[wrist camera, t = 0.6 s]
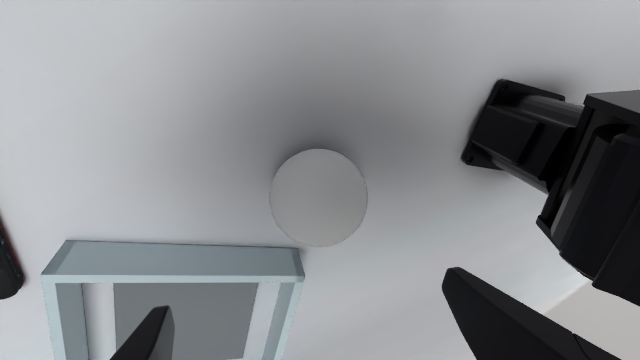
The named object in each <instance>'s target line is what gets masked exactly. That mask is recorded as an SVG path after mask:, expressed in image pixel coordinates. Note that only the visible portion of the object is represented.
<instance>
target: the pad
mask: <svg viewBox="0 0 640 360" xmlns="http://www.w3.org/2000/svg"><path fill="white" fill-rule="evenodd" d="M113 285H114V308H115V330H116V352H117V350H118V349H119V348H120V347H121V346H122V344H123V343H124V342H125V341H126V340H127V338H128V337H129V336H130V335H131V334H132V332H133V331H134V330H135V329H136V328H137V326H138V325H139V324H140V323H141V322H142V320H143V319H144V318H145V317H146V316H147V314H148V313H149V312H150V311H151V310H152V309H153V308H154V307H156V306H164V305H169V306H170V308H171V311H172V315H173V319H174V323H175V334H174V343H173V352H172V360H226V359H239V358H243V353H244V348H245V344H246V339H247V334H248V329H249V325H250V320H251V315H252V310H253V305H254V301H255V296H256V291H257V286H258V282H240V283H113Z"/></svg>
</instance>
